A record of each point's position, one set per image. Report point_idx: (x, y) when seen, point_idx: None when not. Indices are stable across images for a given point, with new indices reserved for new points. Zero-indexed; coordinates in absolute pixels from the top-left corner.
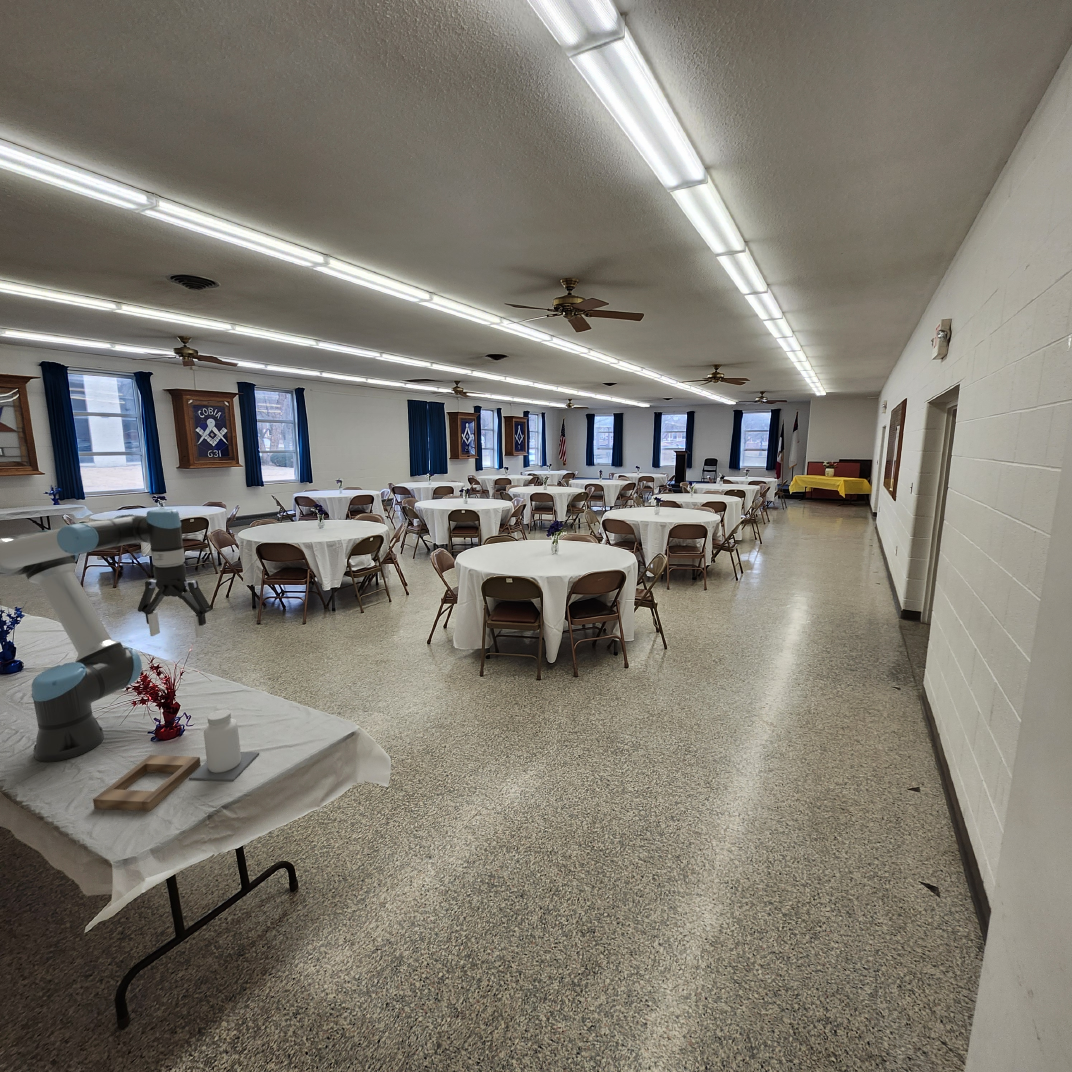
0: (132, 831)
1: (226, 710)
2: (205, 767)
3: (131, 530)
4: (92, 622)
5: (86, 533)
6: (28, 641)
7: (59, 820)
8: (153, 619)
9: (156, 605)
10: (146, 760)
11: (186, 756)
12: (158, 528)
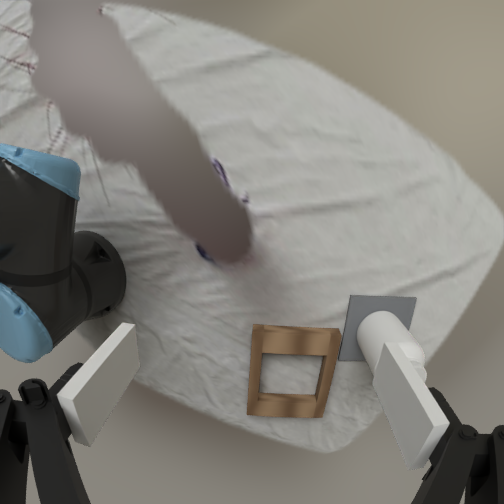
0: (319, 431)
1: (419, 370)
2: (351, 338)
3: None
4: None
5: None
6: None
7: (223, 419)
8: (100, 405)
9: (69, 463)
10: (257, 345)
11: (318, 335)
12: None
